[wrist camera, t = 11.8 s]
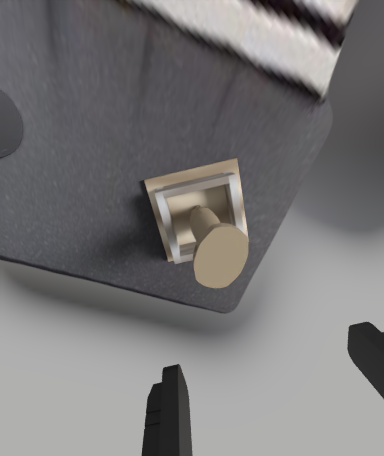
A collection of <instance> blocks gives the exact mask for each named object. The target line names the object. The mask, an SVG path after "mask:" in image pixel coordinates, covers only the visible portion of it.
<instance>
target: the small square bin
mask: <svg viewBox="0 0 384 456" xmlns="http://www.w3.org/2000/svg"><path fill="white" fill-rule="evenodd" d="M144 181H145V185H146V188H147V191H148V195H149V198H150V201H151V205H152V208H153V211H154V215H155V218H156V221H157V225H158V228H159V231H160V235H161V238H162V242H163V245H164V248H165V252H166V255H167V258H168V262H169V261H173V260H174V262H175V264H177V263H181V262H185V261H190V260H193V253H194V249H195V245H196V243H197V242H196V240H195V238H194V236H193V234H192V231H191V227H190V212H191V210H193V209H195V208H196V206H197V205H201V206H202V207H207V208H209V209H210V210H211V211H212V212H213V213H214V214H215V215H216V216H217V218H218V219H219V221H220V223H227V224H231V225H234V226H236V227H237V228H239V229H240V230H241V231H242V232H243V233H244V234H245V235H246V236H247V239H248V233H247V226H246V219H245V212H244V205H243V198H242V190H241V183H240V176H239V169H238V162H237V158H233V159H229V160H225V161H220V162H216V163H212V164H208V165H204V166H199V167H195V168H191V169H187V170H183V171H178V172H174V173H170V174H166V175H162V176H157V177H153V178H149V179H145V180H144ZM248 243H249V241H248Z"/></svg>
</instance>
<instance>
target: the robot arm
mask: <svg viewBox="0 0 384 456" xmlns="http://www.w3.org/2000/svg"><path fill="white" fill-rule="evenodd" d="M22 135H23V126H22V121H21V117H20V115H19V113H18V111H17V108H16V107H15V105H14V104H13V103H12V101H11V100H10V99H9V98H8V97H7V96H6V95H5V94H4V93H3V92H2V91H0V157H4V156H7V155H10V154H11V153H12V152H14V151H15V150H16V149H17V148H18V146H19V145H20V142H21V140H22ZM348 353H349V355H350V357H351V359H352V361H353V362H354V364H355V365H356V366H357V367H358V368H359V370H360V371H361V372H362V373H363V374H364V376H365V377H366V378H367V379H368V380H369V382H370V383H371V384H372V385H373V386H374V388H375V389H376V390H377V391H378V392H379V394H380V395H381V396H382V397H383V398H384V332H380V331H379V330H378V329H377V328H376V327H375V326H374V325H373V324H371V323H369V322H363V323H359V324H354V325H350V326H349V332H348ZM162 374H163V375H162V382H161V383H157V384H154V385H153V387H152V389H151V392H150V394H149V396H148V399H147V409H146V419H145V429H144V438H143V448H142V456H192V441H191V426H190V408H189V396H188V390H187V385H186V382H185V379H184V376H183V373H182V370H181V367H180V365H179V364H177V365H173V366H168V367H164V368H163V373H162Z"/></svg>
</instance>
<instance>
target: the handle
mask: <svg viewBox="0 0 384 456" xmlns="http://www.w3.org/2000/svg"><path fill="white" fill-rule="evenodd" d="M190 227H191V231H192V234H193V236H194V238H195V240H196V242H197V243H196V245H195V249H194V253H193V265H194V271H195V277H196V280H197V281H198V282H199V283H200V284H202V285H204V286H207V287H211V288H222V287H226V286H228V285H229V284H230V283H231V282H232V281H233V280H234V279H235V278H236V277H237V276H238V275H239V274H240V273H241V271H242V269H243V267H244V264H245V262H246V260H247V256H248V239H247V236H246V235H245V234H244V233H243V232H242V231H241V230H240V229H239V228H237V227H236V226H234V225H231V224H227V223H220V221H219V219H218V218H217V216H216V215H215V214H214V213H213V212H212V211H211V210H210V209H209V208H207V207H202V206H201V205H197V206H196V208H195V209H193V210H191V212H190Z"/></svg>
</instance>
